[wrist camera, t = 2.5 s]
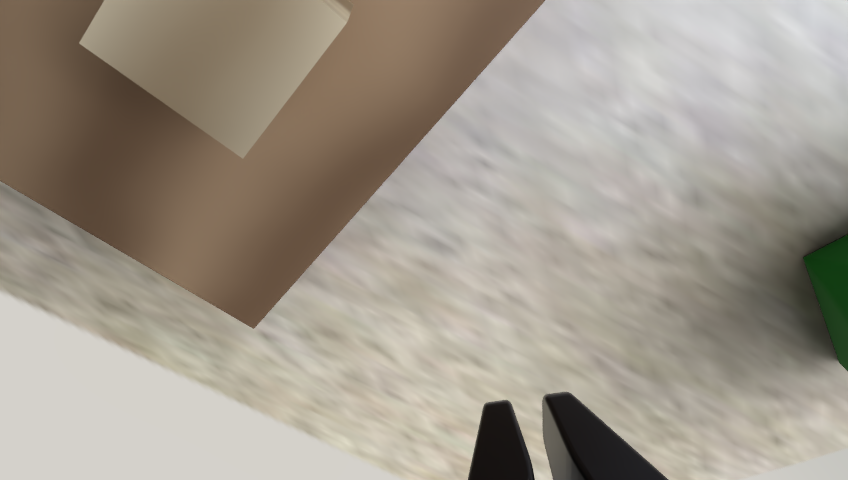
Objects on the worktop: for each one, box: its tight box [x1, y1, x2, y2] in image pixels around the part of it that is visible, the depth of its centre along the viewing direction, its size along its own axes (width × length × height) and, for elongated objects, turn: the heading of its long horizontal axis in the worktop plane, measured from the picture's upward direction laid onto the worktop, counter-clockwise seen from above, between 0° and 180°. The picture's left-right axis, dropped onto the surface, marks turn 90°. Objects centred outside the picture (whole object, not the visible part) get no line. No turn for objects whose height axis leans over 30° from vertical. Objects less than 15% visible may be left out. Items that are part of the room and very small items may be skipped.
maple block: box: [79, 0, 354, 159], centre depth 14 cm, size 4×4×4 cm
